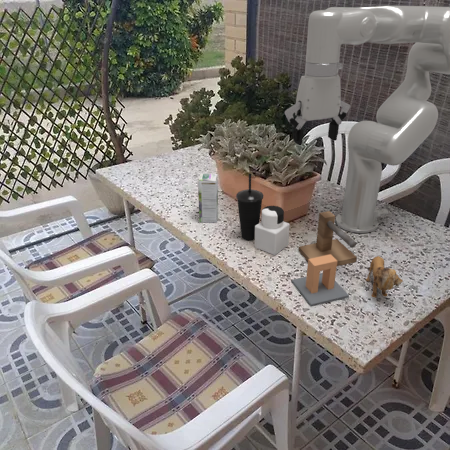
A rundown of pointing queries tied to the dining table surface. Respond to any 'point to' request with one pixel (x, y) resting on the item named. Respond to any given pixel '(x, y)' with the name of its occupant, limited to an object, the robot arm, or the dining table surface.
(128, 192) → the dining table surface
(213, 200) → the syrup box
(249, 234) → the drinking cup
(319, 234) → the stand
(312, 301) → the slate mat
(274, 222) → the medicine bottle
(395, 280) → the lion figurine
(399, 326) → the dining table surface
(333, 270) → the c link
